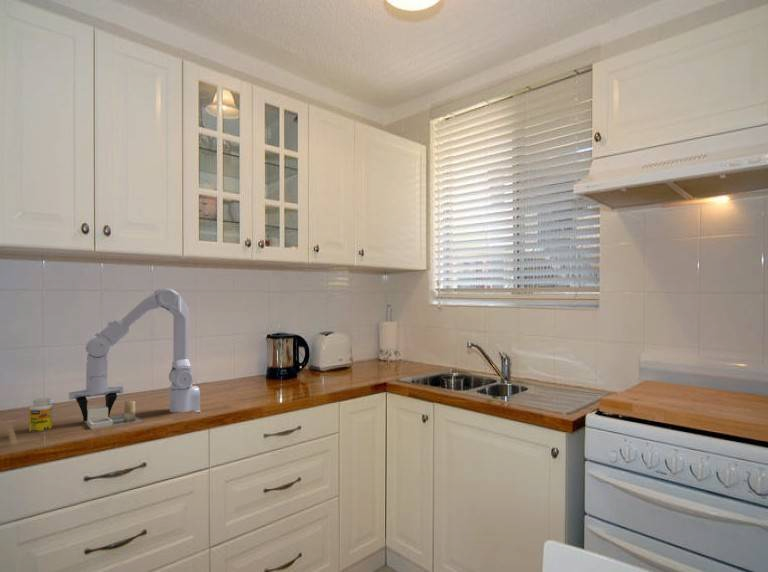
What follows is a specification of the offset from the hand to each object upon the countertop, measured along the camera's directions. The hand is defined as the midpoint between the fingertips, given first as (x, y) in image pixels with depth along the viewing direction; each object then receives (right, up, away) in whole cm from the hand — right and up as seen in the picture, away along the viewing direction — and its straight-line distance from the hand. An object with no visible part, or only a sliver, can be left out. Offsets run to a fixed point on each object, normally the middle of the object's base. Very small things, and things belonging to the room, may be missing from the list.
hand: (96, 418), depth 145 cm
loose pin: (+10, -1, +1) cm, 10 cm away
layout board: (+5, -2, 0) cm, 5 cm away
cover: (0, -1, 0) cm, 1 cm away
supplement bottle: (-11, -2, -8) cm, 14 cm away
